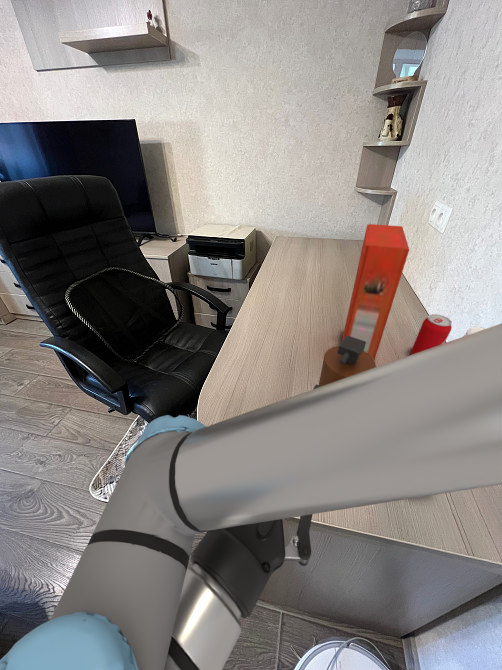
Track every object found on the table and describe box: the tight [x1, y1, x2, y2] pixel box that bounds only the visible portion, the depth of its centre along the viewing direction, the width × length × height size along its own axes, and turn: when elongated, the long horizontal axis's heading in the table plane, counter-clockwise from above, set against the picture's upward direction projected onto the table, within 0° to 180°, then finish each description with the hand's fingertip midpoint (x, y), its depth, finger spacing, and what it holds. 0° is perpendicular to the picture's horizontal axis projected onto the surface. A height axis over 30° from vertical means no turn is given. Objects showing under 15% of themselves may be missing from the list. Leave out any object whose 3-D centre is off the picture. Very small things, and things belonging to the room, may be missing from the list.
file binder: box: [341, 223, 410, 361], centre depth 68 cm, size 8×17×32 cm, turn 160°
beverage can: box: [410, 313, 453, 355], centre depth 72 cm, size 6×6×12 cm
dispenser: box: [318, 335, 377, 386], centre depth 51 cm, size 10×9×22 cm
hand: (318, 423), depth 42 cm, fingers closed
